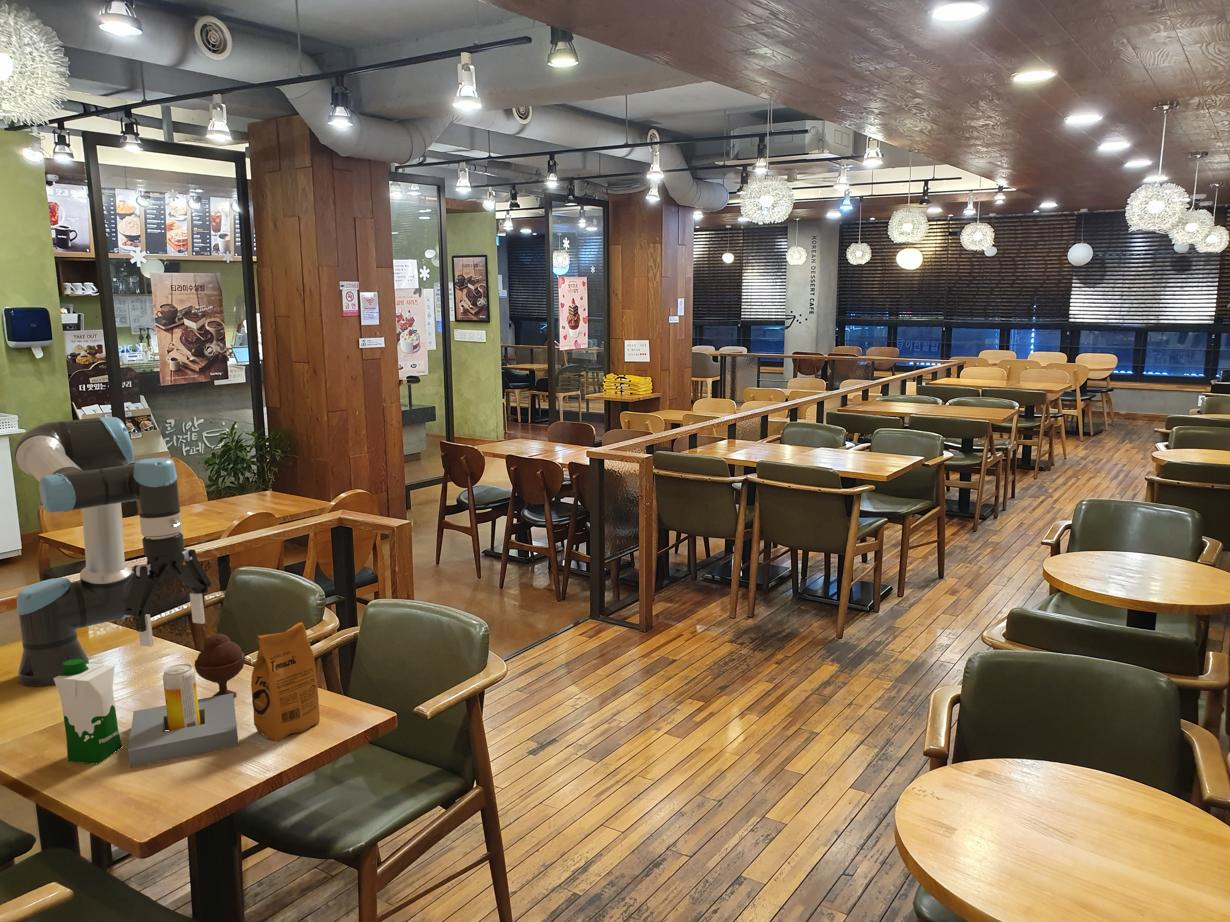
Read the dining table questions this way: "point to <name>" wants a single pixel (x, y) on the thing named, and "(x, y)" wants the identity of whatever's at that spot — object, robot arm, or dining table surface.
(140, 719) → the socket holder
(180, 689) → the beer can
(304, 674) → the coffee package
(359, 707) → the dining table surface
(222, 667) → the ice cream bowl
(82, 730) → the milk carton
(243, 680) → the dining table surface
